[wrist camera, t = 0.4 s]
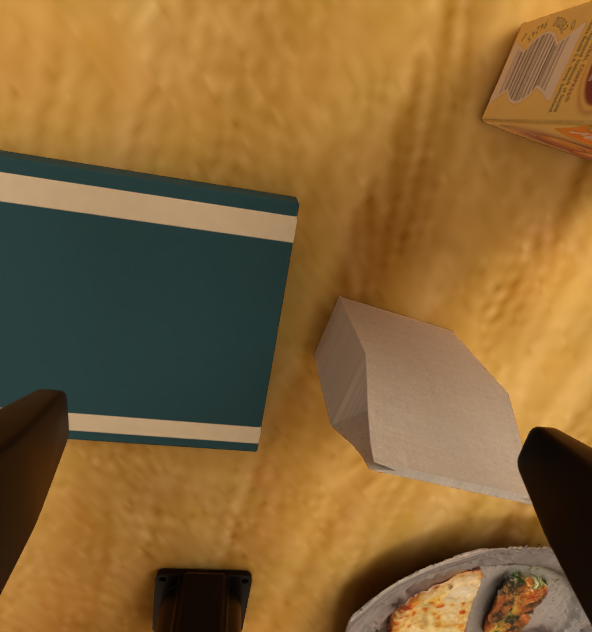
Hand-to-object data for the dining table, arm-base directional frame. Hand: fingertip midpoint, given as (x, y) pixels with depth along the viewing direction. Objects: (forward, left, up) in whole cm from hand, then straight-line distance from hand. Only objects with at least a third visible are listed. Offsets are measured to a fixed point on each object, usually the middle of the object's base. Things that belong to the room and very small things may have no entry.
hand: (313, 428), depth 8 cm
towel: (-5, +6, -14) cm, 16 cm away
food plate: (-30, -21, -14) cm, 39 cm away
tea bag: (-5, -7, -14) cm, 17 cm away
